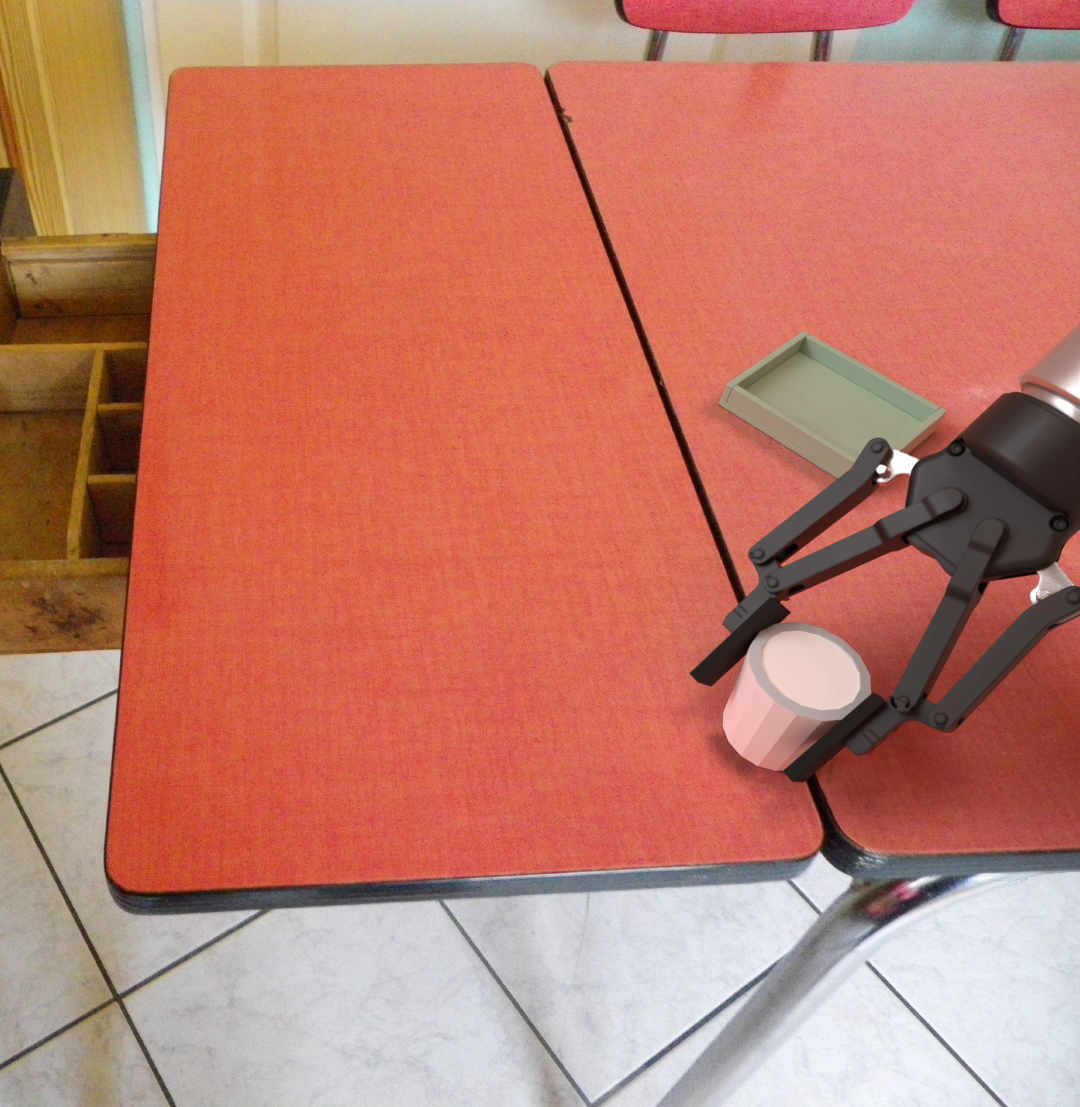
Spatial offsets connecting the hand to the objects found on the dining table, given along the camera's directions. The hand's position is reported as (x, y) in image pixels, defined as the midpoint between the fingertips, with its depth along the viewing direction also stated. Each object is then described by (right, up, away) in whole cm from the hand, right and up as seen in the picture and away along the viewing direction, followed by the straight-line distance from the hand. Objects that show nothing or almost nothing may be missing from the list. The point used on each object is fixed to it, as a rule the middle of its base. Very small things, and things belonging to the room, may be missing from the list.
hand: (745, 726), depth 60 cm
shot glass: (+3, -1, +4) cm, 5 cm away
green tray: (+16, +21, +23) cm, 35 cm away
